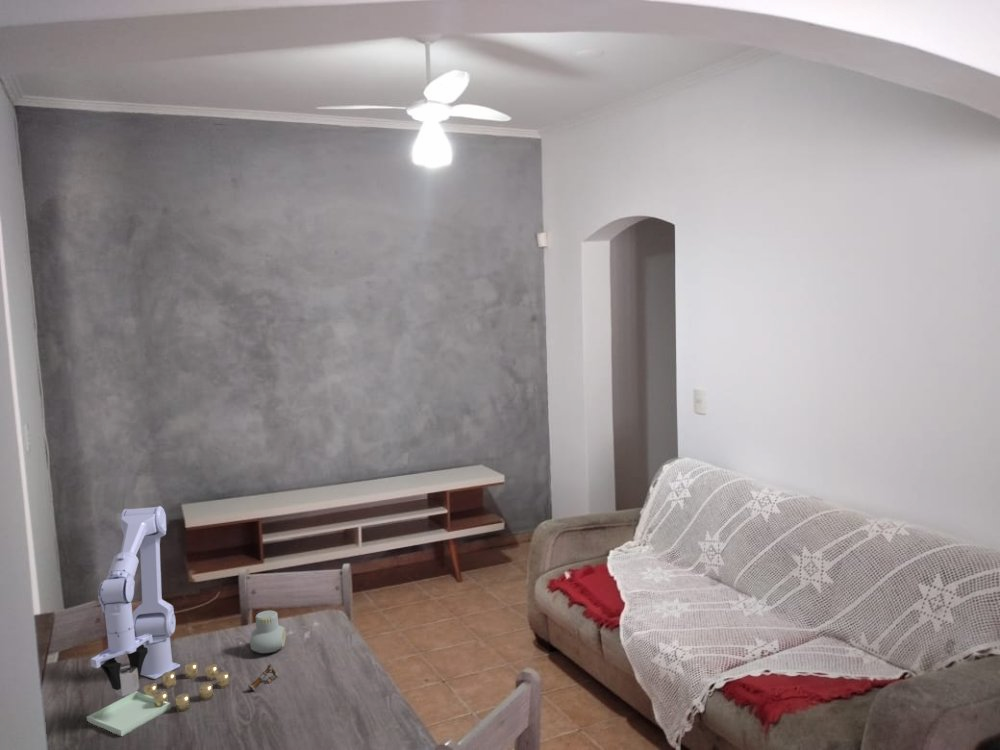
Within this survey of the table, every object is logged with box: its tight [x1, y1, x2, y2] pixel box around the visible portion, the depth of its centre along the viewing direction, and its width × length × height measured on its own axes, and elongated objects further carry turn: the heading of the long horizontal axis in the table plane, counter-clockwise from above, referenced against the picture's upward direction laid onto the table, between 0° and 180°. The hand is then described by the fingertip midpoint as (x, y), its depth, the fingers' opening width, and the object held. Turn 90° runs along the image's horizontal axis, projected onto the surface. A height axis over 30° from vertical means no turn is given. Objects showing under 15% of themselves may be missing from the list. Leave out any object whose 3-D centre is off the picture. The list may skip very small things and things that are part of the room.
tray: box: [86, 690, 172, 737], centre depth 188 cm, size 13×13×2 cm
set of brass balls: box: [143, 661, 231, 713], centre depth 198 cm, size 17×18×3 cm
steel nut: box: [114, 664, 140, 697], centre depth 187 cm, size 5×4×5 cm
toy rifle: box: [247, 662, 279, 692], centre depth 200 cm, size 2×8×4 cm, turn 143°
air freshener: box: [249, 609, 287, 654], centre depth 220 cm, size 11×8×10 cm
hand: (126, 683), depth 187 cm, fingers closed on steel nut, 4 cm apart
